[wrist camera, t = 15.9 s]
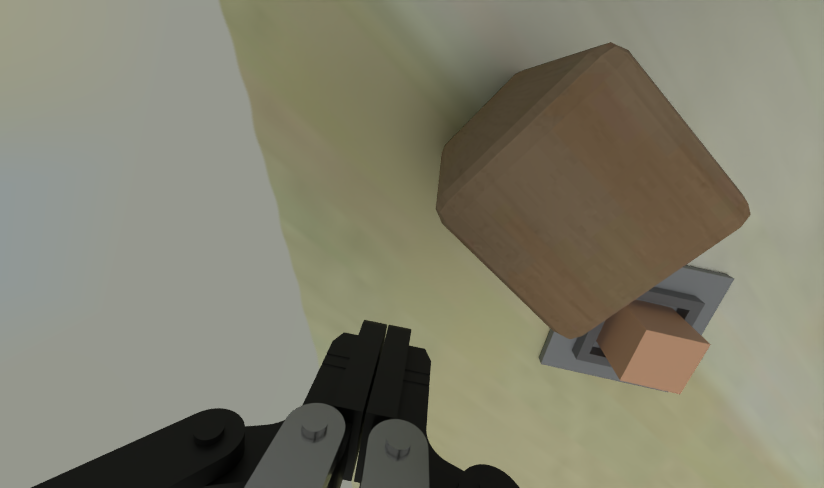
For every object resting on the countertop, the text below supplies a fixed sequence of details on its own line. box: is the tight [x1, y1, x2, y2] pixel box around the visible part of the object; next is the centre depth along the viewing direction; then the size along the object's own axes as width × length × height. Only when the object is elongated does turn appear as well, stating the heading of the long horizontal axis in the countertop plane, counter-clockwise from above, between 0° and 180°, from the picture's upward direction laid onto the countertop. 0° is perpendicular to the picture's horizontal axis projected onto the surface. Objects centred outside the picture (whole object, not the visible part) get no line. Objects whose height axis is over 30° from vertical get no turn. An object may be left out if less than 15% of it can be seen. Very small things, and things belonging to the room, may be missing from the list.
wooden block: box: [436, 42, 750, 339], centre depth 26 cm, size 10×10×20 cm
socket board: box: [539, 265, 734, 392], centre depth 39 cm, size 14×14×2 cm
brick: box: [596, 299, 710, 394], centre depth 36 cm, size 6×6×6 cm
